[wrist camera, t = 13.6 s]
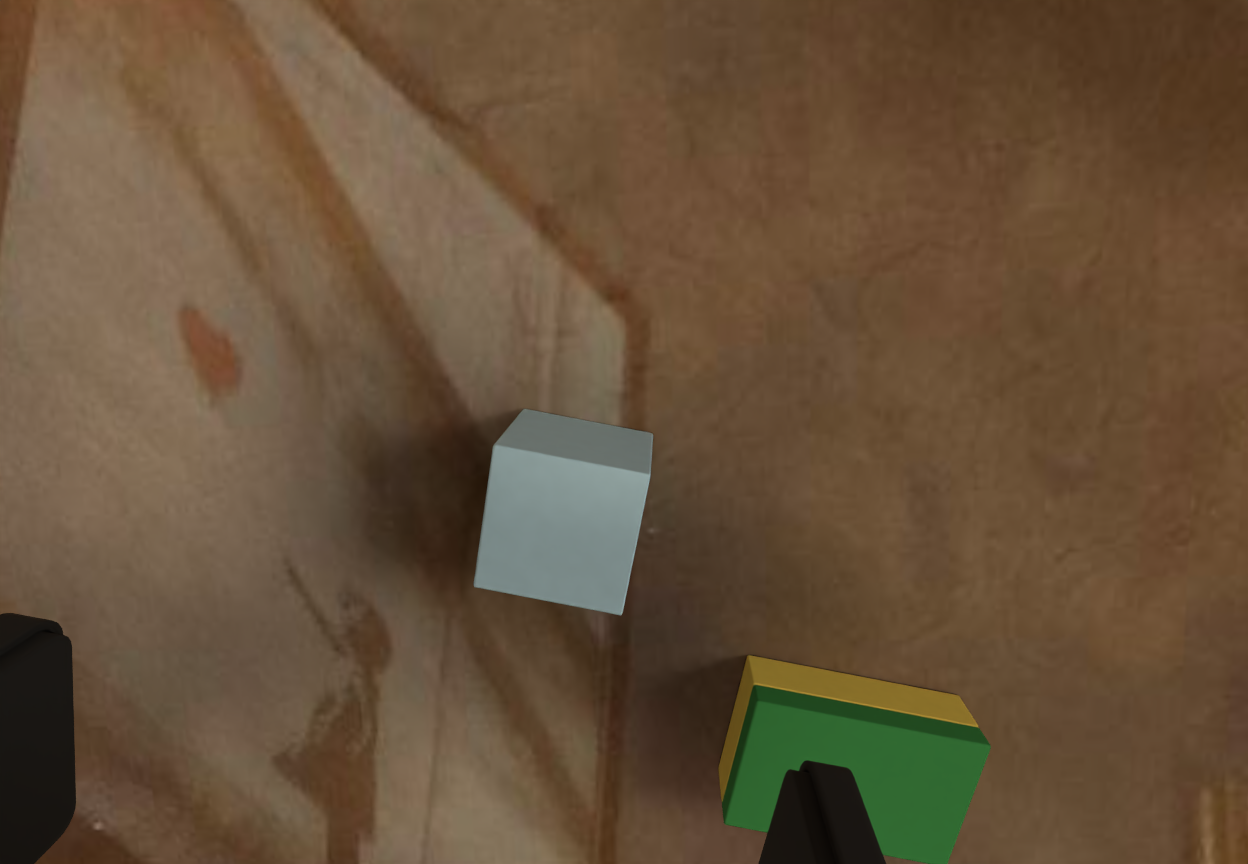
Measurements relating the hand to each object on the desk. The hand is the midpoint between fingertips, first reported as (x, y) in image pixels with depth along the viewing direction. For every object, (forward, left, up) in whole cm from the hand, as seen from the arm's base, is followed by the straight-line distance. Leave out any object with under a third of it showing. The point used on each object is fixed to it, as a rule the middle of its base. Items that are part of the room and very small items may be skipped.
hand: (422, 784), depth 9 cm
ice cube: (+1, 0, -14) cm, 14 cm away
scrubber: (+10, -7, -14) cm, 19 cm away
